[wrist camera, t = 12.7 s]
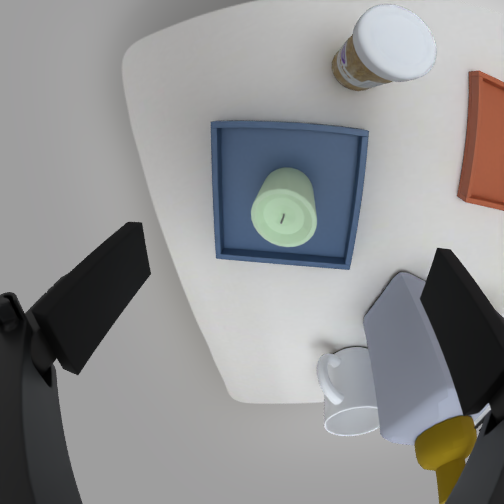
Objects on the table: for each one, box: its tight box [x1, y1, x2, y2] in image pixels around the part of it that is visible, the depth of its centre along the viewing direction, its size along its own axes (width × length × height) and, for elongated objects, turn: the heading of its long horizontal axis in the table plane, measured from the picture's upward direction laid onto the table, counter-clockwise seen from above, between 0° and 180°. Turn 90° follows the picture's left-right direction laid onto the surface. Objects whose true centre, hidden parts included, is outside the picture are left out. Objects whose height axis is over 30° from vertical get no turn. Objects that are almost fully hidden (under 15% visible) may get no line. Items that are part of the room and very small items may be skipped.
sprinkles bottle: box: [332, 4, 437, 91], centre depth 16 cm, size 5×5×14 cm
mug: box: [317, 347, 380, 436], centre depth 33 cm, size 12×8×10 cm
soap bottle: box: [363, 272, 489, 504], centre depth 21 cm, size 9×9×25 cm
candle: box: [251, 167, 317, 247], centre depth 24 cm, size 5×5×8 cm
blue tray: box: [211, 121, 369, 270], centre depth 27 cm, size 14×14×2 cm
